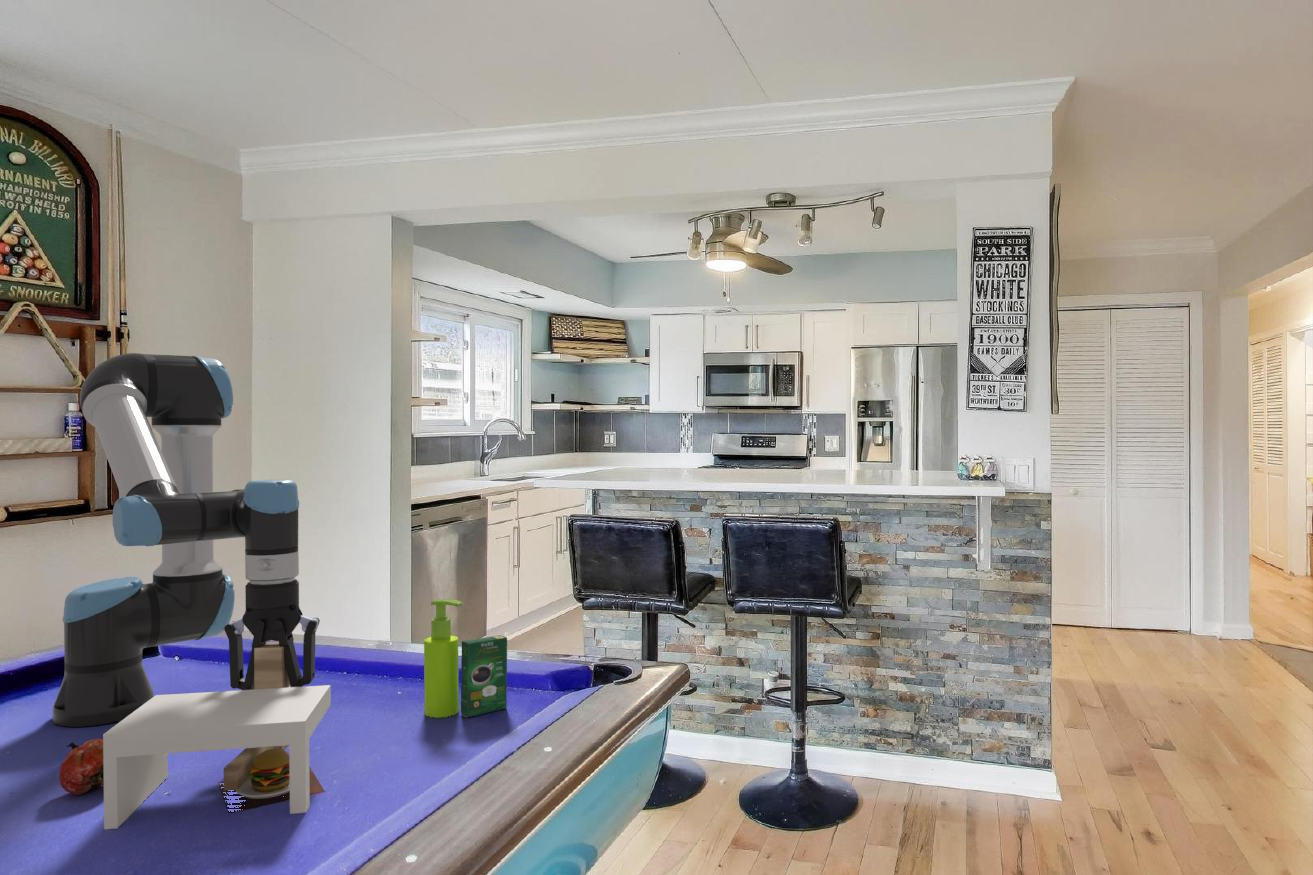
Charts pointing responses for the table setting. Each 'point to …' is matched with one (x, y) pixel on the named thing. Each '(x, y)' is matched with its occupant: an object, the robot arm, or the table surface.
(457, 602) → the soap dispenser
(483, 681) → the coffee box
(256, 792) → the hamburger
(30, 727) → the table surface
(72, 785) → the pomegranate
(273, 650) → the block
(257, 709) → the shelf
